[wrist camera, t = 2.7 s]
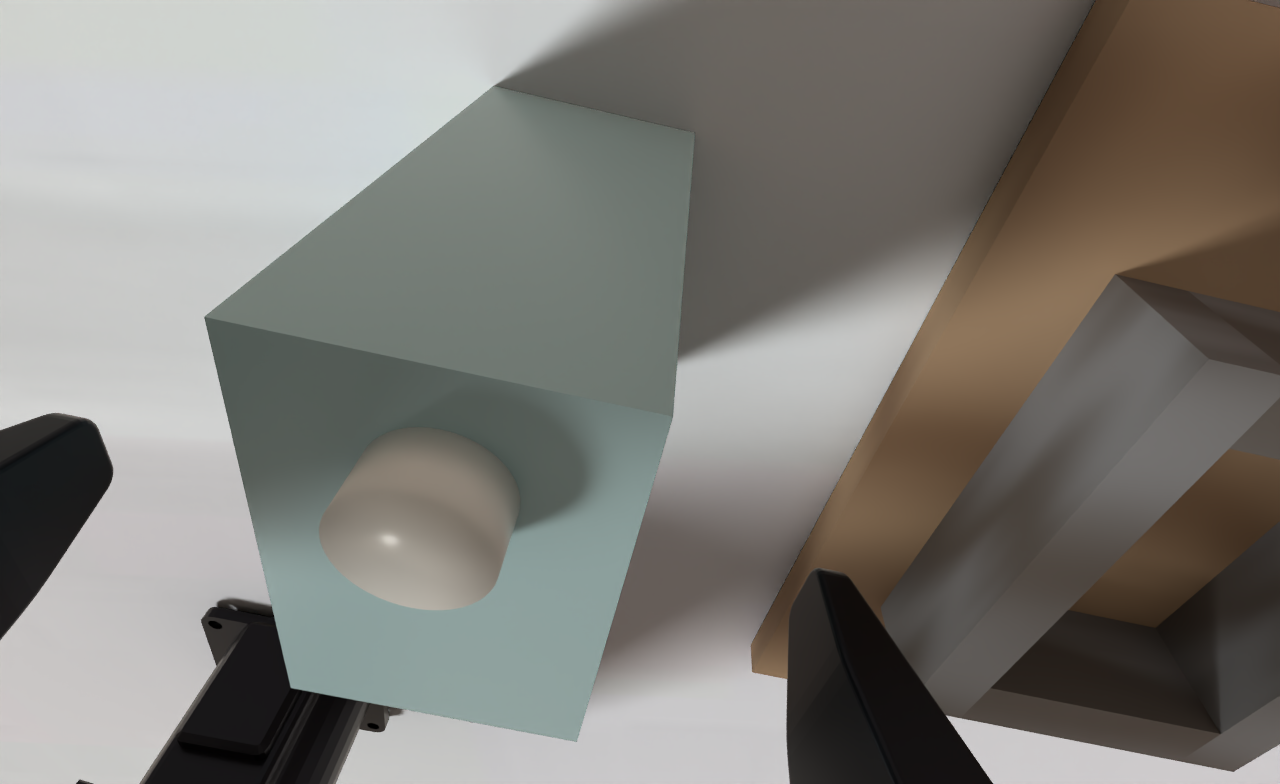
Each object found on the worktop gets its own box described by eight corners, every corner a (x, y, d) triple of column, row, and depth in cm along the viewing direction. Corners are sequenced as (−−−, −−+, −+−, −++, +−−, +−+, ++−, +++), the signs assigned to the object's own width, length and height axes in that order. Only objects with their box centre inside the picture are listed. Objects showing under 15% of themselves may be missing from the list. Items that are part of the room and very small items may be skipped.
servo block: (636, 376, 16) (566, 803, 9) (478, 342, 16) (258, 746, 8) (695, 132, 13) (667, 482, 5) (494, 85, 13) (137, 371, 5)
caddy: (1134, 721, 23) (1202, 851, 20) (750, 644, 23) (756, 766, 19) (1876, 162, 11) (2334, 261, 8) (1112, -31, 11) (1282, -6, 8)
